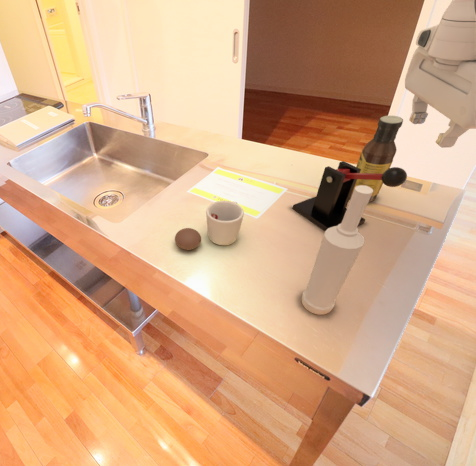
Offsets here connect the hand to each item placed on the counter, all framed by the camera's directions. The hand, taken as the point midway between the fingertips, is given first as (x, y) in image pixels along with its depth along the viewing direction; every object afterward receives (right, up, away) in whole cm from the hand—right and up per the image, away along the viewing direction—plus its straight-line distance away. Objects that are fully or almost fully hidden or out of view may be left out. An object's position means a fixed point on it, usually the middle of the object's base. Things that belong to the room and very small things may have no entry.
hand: (428, 133), depth 54 cm
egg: (-37, -20, +21) cm, 47 cm away
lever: (-3, -7, +10) cm, 13 cm away
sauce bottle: (+8, -8, +26) cm, 28 cm away
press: (-3, -13, +22) cm, 26 cm away
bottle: (-16, -30, +5) cm, 35 cm away
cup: (-28, -17, +22) cm, 39 cm away
